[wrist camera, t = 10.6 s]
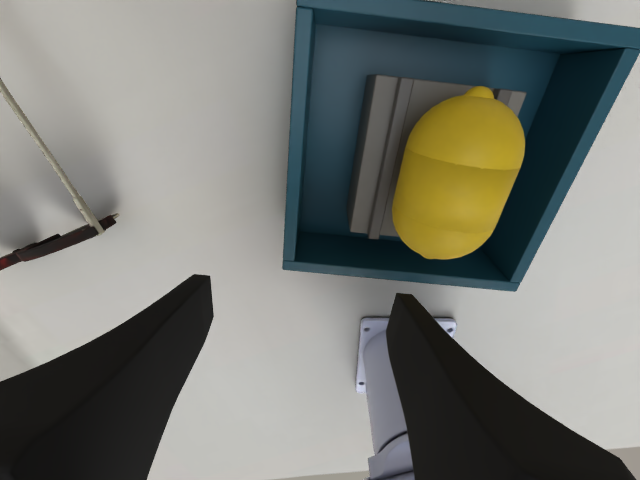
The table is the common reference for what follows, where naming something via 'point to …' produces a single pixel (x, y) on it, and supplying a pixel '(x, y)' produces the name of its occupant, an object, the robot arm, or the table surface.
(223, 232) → the table surface
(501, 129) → the lemon
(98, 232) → the sunglasses
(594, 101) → the crate
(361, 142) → the grey block
